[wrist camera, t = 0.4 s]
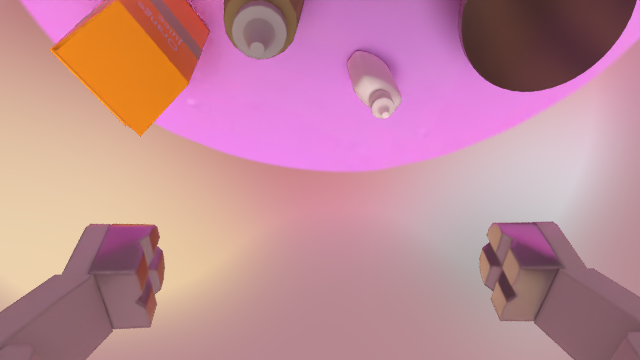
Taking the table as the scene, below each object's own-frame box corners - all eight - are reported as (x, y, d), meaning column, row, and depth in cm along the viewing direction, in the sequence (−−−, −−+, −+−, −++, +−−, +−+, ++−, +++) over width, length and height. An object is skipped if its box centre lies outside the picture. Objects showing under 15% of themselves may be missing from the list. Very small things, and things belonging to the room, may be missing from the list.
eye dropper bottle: (361, 94, 60) (376, 145, 51) (342, 56, 57) (353, 102, 48) (394, 79, 59) (415, 127, 50) (376, 39, 56) (395, 82, 47)
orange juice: (158, 66, 57) (106, 159, 41) (102, 0, 52) (17, 76, 36) (211, 30, 55) (178, 113, 38) (157, -41, 50) (93, 19, 34)
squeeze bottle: (248, -68, 49) (230, -26, 34) (316, -26, 52) (327, 29, 37) (216, 3, 53) (188, 68, 38) (281, 38, 56) (279, 112, 41)
